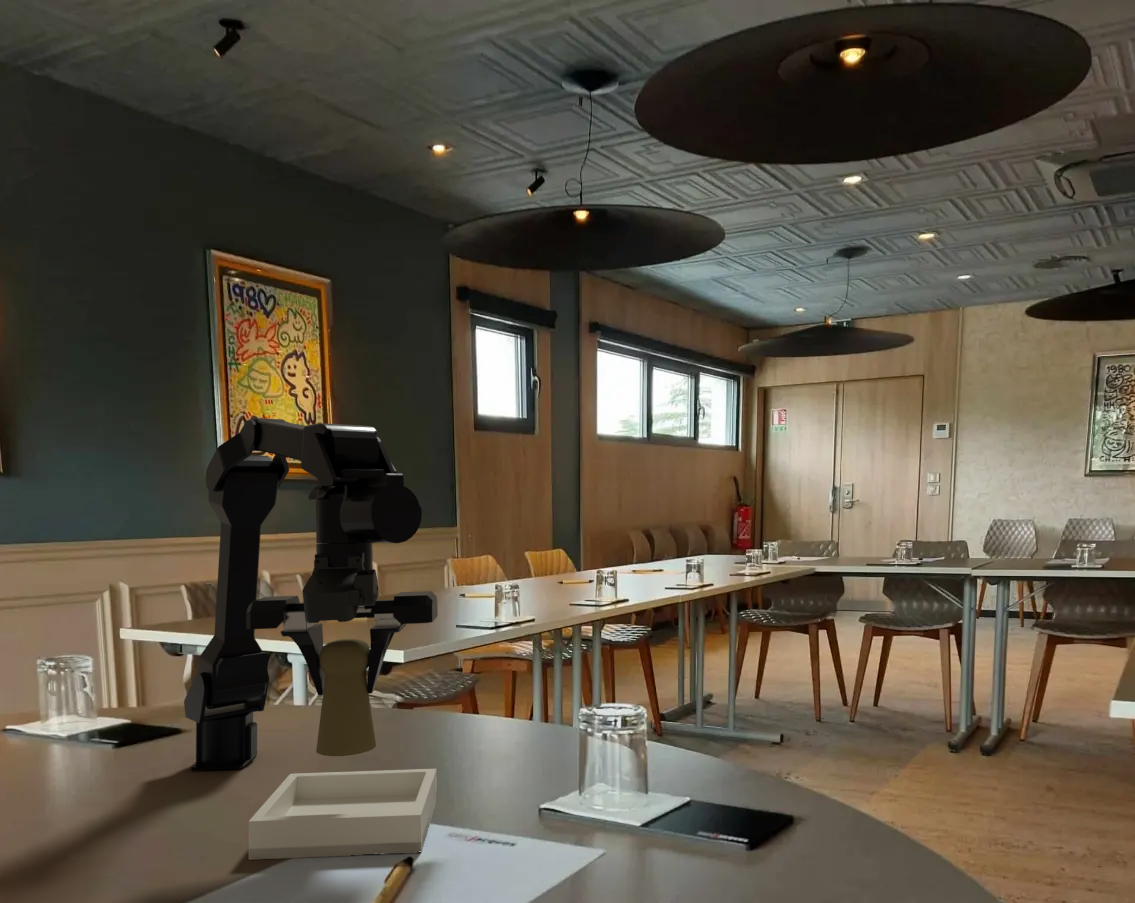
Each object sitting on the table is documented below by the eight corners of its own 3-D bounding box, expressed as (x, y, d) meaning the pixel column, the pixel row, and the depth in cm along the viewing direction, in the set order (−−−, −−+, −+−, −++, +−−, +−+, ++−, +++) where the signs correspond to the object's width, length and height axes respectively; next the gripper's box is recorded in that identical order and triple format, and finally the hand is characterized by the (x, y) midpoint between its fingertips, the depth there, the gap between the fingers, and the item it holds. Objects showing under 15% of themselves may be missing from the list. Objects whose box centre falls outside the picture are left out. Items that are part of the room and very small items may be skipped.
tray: (248, 859, 79) (248, 821, 79) (290, 806, 93) (290, 773, 93) (421, 852, 79) (420, 814, 80) (436, 800, 93) (436, 768, 94)
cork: (360, 757, 84) (359, 644, 84) (304, 755, 85) (304, 644, 86) (385, 740, 90) (384, 635, 90) (333, 739, 91) (332, 635, 92)
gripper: (227, 549, 80) (227, 716, 79) (424, 543, 81) (427, 708, 80) (263, 544, 91) (263, 691, 90) (436, 539, 92) (439, 684, 91)
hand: (345, 693), depth 88 cm, fingers closed on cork, 5 cm apart
